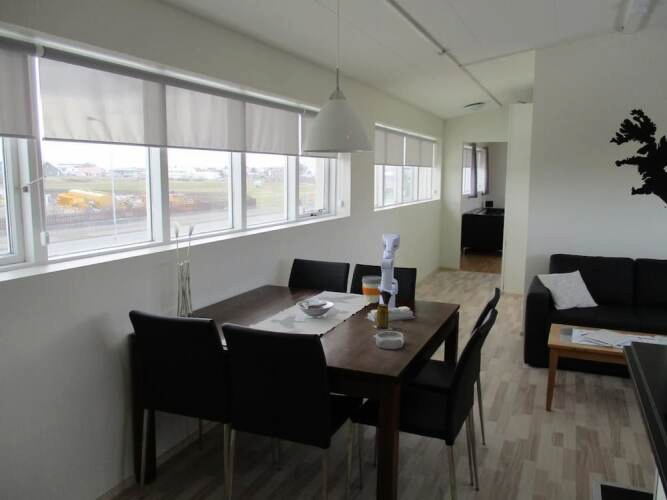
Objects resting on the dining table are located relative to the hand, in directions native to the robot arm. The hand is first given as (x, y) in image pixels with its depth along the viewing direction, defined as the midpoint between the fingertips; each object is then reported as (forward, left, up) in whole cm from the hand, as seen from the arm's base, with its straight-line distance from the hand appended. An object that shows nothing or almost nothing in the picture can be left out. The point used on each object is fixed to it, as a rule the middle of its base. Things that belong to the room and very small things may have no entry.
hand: (386, 304), depth 298 cm
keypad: (0, +3, -8) cm, 8 cm away
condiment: (+15, -11, -8) cm, 20 cm away
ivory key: (0, +12, -6) cm, 13 cm away
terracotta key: (0, 0, -6) cm, 6 cm away
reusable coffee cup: (-37, +13, -8) cm, 40 cm away
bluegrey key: (0, +6, -6) cm, 8 cm away
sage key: (0, -6, -6) cm, 8 cm away
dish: (+40, -23, -8) cm, 47 cm away
